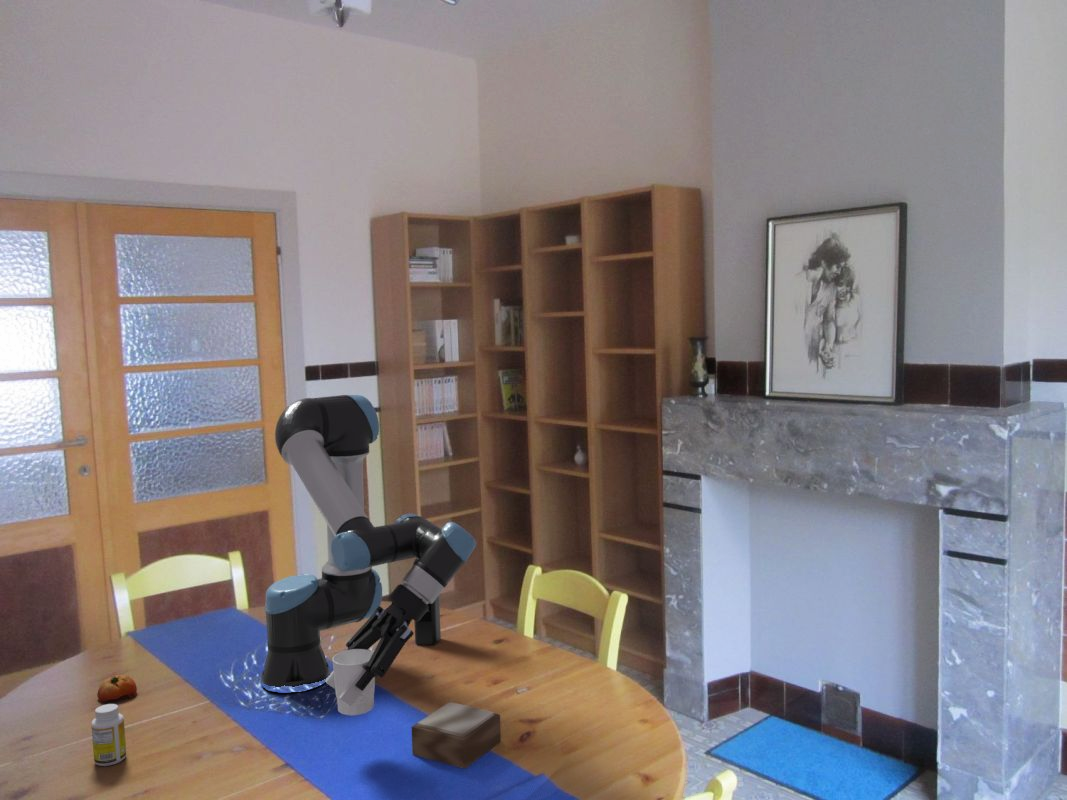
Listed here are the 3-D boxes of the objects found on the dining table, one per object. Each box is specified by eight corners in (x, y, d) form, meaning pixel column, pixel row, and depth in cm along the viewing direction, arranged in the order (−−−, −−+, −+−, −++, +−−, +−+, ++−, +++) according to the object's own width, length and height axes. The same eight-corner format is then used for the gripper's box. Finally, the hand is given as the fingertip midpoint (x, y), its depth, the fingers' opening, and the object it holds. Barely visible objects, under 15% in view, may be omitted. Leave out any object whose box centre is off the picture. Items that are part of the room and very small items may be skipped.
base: (412, 754, 168) (411, 723, 167) (449, 728, 178) (448, 699, 177) (465, 769, 162) (464, 737, 161) (500, 741, 172) (499, 711, 171)
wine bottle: (435, 646, 224) (431, 528, 222) (414, 645, 225) (409, 528, 223) (441, 638, 230) (437, 523, 228) (420, 637, 231) (416, 523, 229)
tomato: (85, 693, 197) (107, 663, 200) (107, 704, 202) (127, 675, 205) (106, 706, 193) (127, 676, 196) (128, 717, 198) (148, 687, 201)
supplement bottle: (118, 750, 173) (114, 699, 172) (131, 758, 169) (128, 706, 168) (88, 761, 168) (85, 709, 168) (102, 770, 165) (98, 717, 164)
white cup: (367, 718, 164) (365, 666, 163) (327, 715, 165) (325, 663, 164) (383, 700, 172) (381, 650, 171) (344, 697, 173) (342, 647, 172)
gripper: (450, 620, 166) (370, 725, 159) (407, 591, 183) (334, 684, 177) (423, 597, 163) (341, 703, 156) (382, 570, 180) (306, 664, 174)
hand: (337, 693), depth 166 cm, fingers closed on white cup, 8 cm apart
